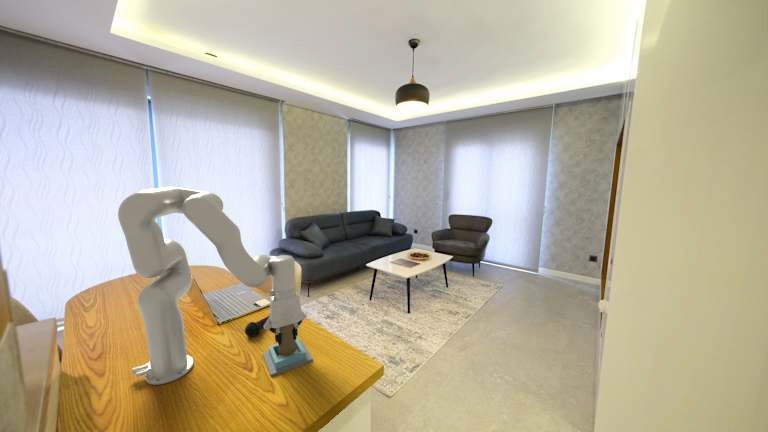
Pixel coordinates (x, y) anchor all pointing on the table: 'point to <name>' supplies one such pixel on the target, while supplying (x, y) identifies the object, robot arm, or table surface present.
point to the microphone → (255, 327)
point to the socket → (286, 358)
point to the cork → (287, 340)
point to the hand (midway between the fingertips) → (286, 339)
